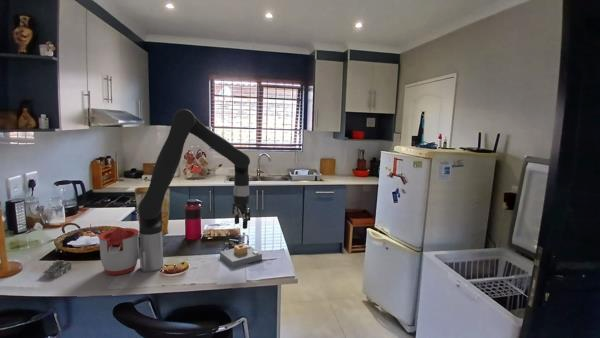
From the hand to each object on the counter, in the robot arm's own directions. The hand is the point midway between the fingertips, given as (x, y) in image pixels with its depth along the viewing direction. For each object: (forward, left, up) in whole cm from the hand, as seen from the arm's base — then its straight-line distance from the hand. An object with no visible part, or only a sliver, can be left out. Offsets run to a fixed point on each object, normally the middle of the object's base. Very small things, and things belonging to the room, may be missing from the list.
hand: (240, 226), depth 157 cm
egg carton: (-72, +32, -17) cm, 80 cm away
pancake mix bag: (-26, +61, -17) cm, 68 cm away
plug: (0, 0, -17) cm, 17 cm away
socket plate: (0, 0, -17) cm, 17 cm away
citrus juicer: (-50, +19, -17) cm, 56 cm away
